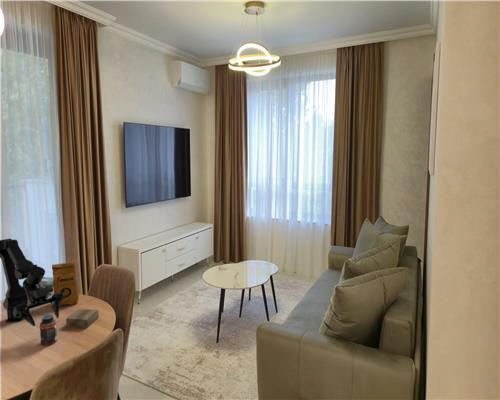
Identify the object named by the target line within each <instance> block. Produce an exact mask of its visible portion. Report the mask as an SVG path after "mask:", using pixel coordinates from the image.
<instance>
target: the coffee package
mask: <svg viewBox="0 0 500 400" xmlns="http://www.w3.org/2000/svg"><path fill="white" fill-rule="evenodd" d="M51 269H52V277H53V288H54V294H57V293H60V292H61V293H63V294H64V296H65V297H64V299H63V300H62V302H61V303H60V304H59V306H68V305H74V304H78V302H79V299H80V289H79V286H78V285H77V273H76V272H77V271H76V262H74V261H73V262H65V263H54V264H52V265H51Z"/></svg>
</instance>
